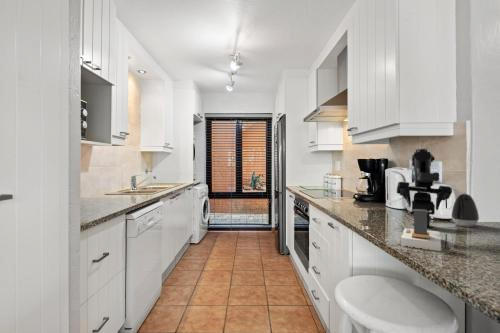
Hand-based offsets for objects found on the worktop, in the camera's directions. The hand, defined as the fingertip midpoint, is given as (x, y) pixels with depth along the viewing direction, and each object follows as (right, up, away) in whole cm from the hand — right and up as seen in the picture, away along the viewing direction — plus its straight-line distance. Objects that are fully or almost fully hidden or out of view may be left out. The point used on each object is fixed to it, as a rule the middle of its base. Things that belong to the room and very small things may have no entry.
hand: (423, 208), depth 107 cm
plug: (-5, -13, -7) cm, 15 cm away
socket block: (-3, -13, -3) cm, 13 cm away
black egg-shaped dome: (+34, -12, +21) cm, 41 cm away
